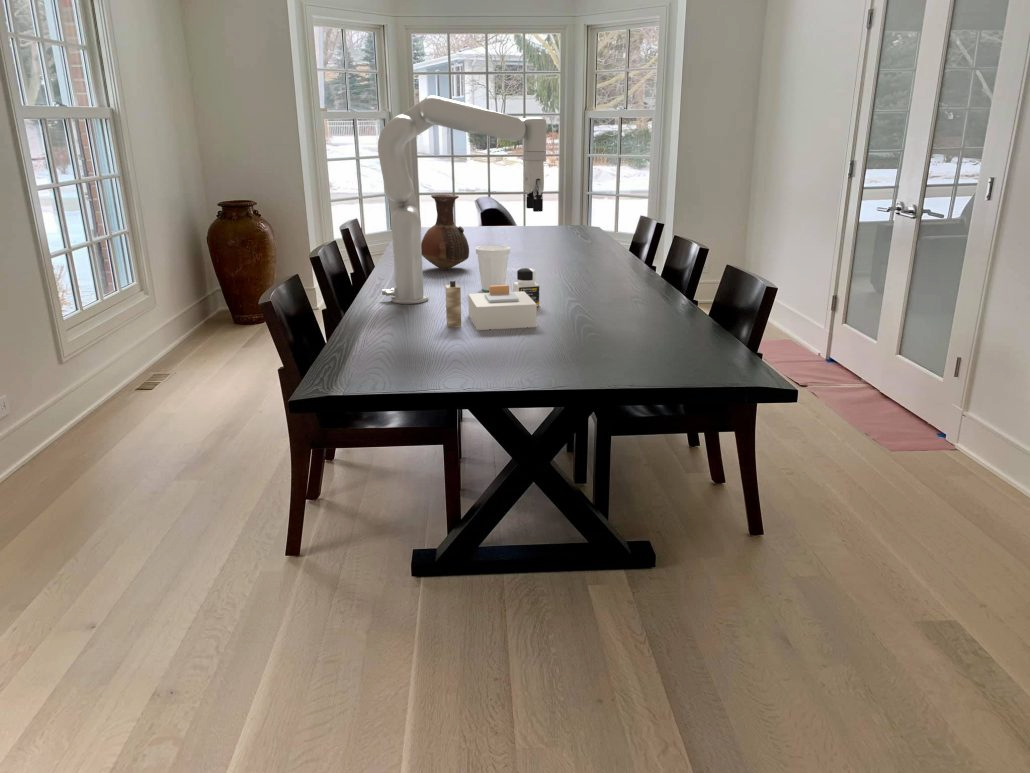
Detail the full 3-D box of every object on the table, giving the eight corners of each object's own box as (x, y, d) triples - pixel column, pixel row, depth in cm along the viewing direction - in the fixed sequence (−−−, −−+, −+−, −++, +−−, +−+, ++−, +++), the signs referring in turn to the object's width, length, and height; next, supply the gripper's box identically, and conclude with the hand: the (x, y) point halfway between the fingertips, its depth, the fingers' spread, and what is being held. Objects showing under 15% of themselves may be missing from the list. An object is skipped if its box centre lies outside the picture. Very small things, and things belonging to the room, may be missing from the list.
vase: (470, 275, 300) (468, 198, 290) (420, 275, 298) (416, 198, 288) (468, 263, 323) (467, 192, 313) (422, 264, 322) (419, 192, 311)
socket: (477, 330, 222) (476, 307, 220) (468, 315, 238) (468, 293, 236) (536, 327, 225) (536, 304, 223) (524, 312, 242) (524, 291, 239)
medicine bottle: (518, 307, 248) (518, 271, 244) (513, 302, 255) (513, 267, 251) (539, 306, 250) (539, 270, 246) (533, 301, 257) (533, 266, 253)
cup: (469, 291, 272) (469, 248, 267) (487, 284, 282) (486, 244, 277) (500, 294, 266) (499, 251, 261) (516, 288, 277) (516, 246, 272)
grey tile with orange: (489, 302, 224) (489, 292, 223) (484, 295, 233) (484, 285, 232) (518, 301, 226) (518, 290, 225) (513, 294, 234) (513, 284, 233)
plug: (448, 327, 225) (446, 282, 220) (446, 323, 229) (445, 280, 224) (461, 326, 226) (460, 282, 221) (459, 323, 229) (458, 279, 225)
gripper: (518, 155, 255) (518, 207, 261) (529, 158, 240) (529, 213, 245) (539, 155, 257) (539, 206, 263) (552, 158, 241) (551, 212, 247)
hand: (534, 209), depth 254 cm, fingers open, 9 cm apart
